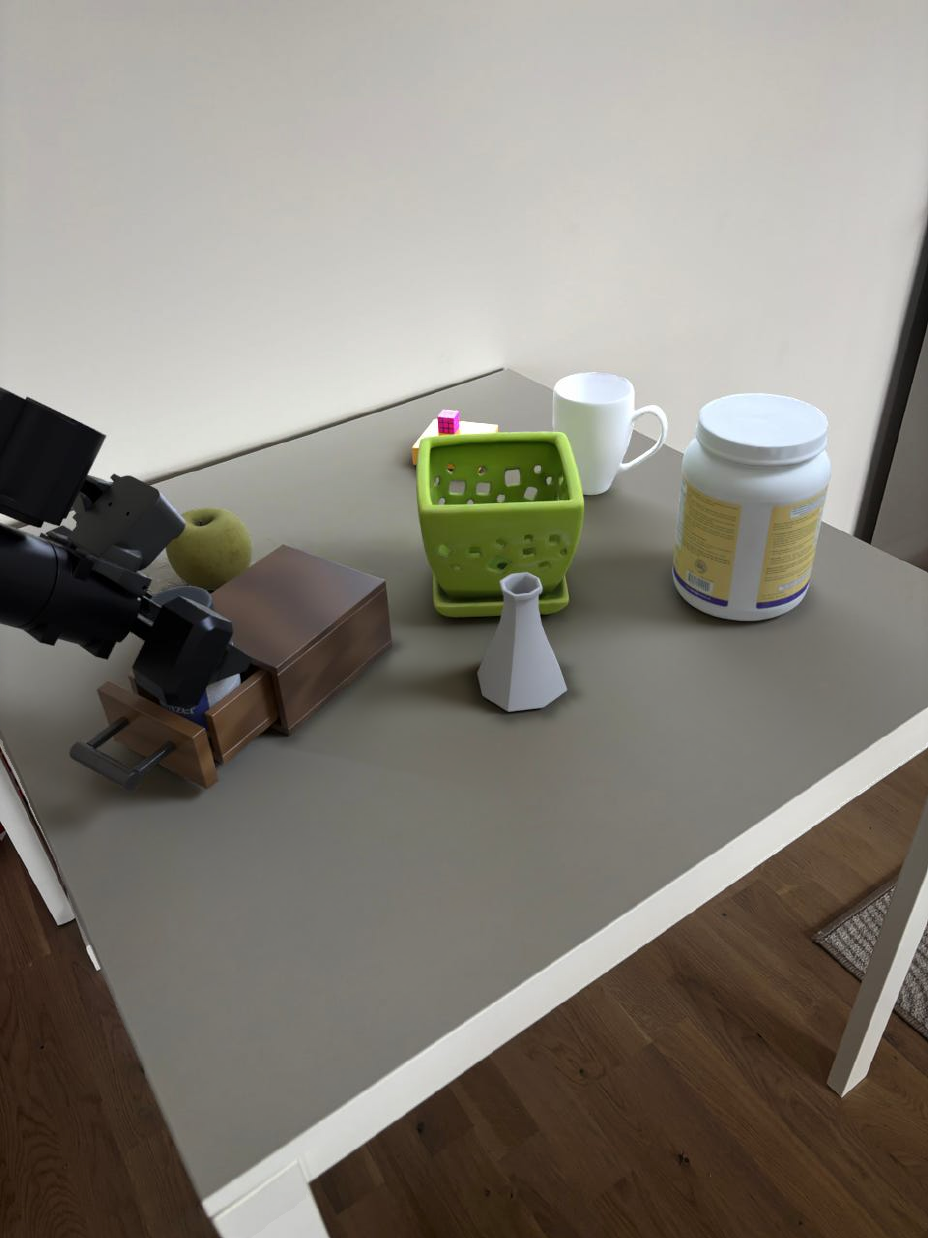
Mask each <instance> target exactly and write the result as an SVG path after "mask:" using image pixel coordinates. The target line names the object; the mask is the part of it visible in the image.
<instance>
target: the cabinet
mask: <svg viewBox="0 0 928 1238" xmlns="http://www.w3.org/2000/svg"><path fill="white" fill-rule="evenodd" d="M386 581H387V580H386V579H383V578H380V577H378V576H375V575H371V574H369V573H366V572H364V571H360V570H358V569H355V568H352V567H349V566H346V565H343V564H341V563H338V562H335V561H332V560H329V559H327V558H324V557H321V556H318V555H315V554H313V553H309V552H307V551H303V550H301V549H299V548H295V547H293V546H290V545H287V544H285V543H283V544H282V545H280V546H279V547H277V548H275V549H274V550H273V551H271V552H270V553H268V554H266V556H264V557H262V558H261V559H259V560H258V561H256V562H255V563H253V564H252V565H250V566H249V568H248V569H246V570H245V571H243V572H242V573H240V574H239V575H238V576H236V577H235V578H233V579H232V580H230V581H229V582H227V583H226V584H224V585H223V586H221V587H220V588H218V589H217V590H213V592H211V593H209V594H210V595H211V597H212V600H213V604H214V607H215V612H216V613H218V614H219V615H221V616H223V617H224V618H226V619H228V620H229V621H231V622H232V627H233V635H232V637H231V639H232V643H233V645H234V646H235V647H237V648H238V649H240V650H241V651H243V652H245V653H246V654H248V655H249V656H251V657H252V661H251V663H252V664H254V665H256V666H258V667H261V668H263V669H265V670H268V671H270V672H271V675H272V680H273V685H274V690H275V694H276V699H277V704H278V709H279V714H280V717H279V718H278V719H277V720H276V721H275V722H274V723H272V724H271V725H270V726H269V727H270V728H272V729H274V730H276V731H278V732H279V733H282V734H284V735H287V736H288V737H291V736H292V735H293V734H294V733H295V732H296V731H297V730H299V729H300V728H301V727H302V726H303V725H304V724H305V723H306V722H308V721H309V720H310V719H311V718H312V717H314V715H315V714H317V713H318V712H320V710H321V709H322V708H324V707H325V706H326V705H328V703H329V702H330V701H332V700H333V699H334V698H335V697H336V696H338V694H339V693H341V691H343V690H344V689H345V688H347V686H348V685H350V684H351V683H352V682H353V681H354V680H355V679H357V678H358V677H359V676H360V675H361V674H362V673H363V672H364V671H366V670H367V669H368V668H369V667H370V666H371V665H372V664H373V663H374V662H375V661H377V660H378V659H379V658H380V657H381V656H382V655H383V654H385V653H386V652H387V651H388V650H389V649H390V648H392V647H393V638H392V631H391V630H392V629H391V617H390V610H389V609H390V608H389V600H388V591H387V582H386ZM269 727H268V728H269Z"/></svg>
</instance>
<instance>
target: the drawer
mask: <svg viewBox="0 0 928 1238" xmlns="http://www.w3.org/2000/svg"><path fill="white" fill-rule="evenodd" d="M239 675H240V680H241V684H240V685H239V686H238V687H237V688H235V689H234V690H233V691H231V692H230V693H229V694H228V695H226V696H225V697H224V698H223V699H221V700H220V701H219V702H218V703H216V704H215V705H214V706H212V707H211V708H210V709H209V710H207V711H206V712H205V717H206V721H207V725H208V728H209V732H210V736H211V740H212V743H209V742H208V738H207V735H206V731H205V728H203V727H201V726H199V725H197V724H195V723H193V722H191V721H189V720H187V719H185V718H183V717H181V716H179V715H177V714H175V713H173V712H171V711H169V710H167V709H165V708H163V707H161V705H160V701H159V699H158V698H157V697H155V696H154V695H152V694H151V693H150V692H148V691H147V690H146V689H144V688H143V687H141V686H140V685H139V684H137V683H136V679H135V676H134V673H133V671H131V672H130V673H129V674H127V678H128V681H129V684H130V687H131V690H129V689H127V688H126V687H123V686H121V685H119V684H117V683H115V682H113V681H111V680H107V681H106V682H104V683H103V684H101V685H99V686H98V687H97V688H96V692H97V695H98V698H99V700H100V703H101V707H102V709H103V712H104V715H105V718H106V721H107V724H108V726H107V727H105V728H104V729H102V730H101V731H100V732H99V733H97V734H96V735H95V736H93V737H92V738H91V739H89V740H88V741H87V742H85V741H81V740H79V741H77V742H75V743H73V745H72V746H71V747H70V748H69V752H68V754H69V758H70V759H71V760H73V761H75V763H76V762H77V763H78V764H80V765H82V766H83V767H85V768H87V769H89V770H91V771H93V772H94V773H95V774H98V775H100V776H101V777H103V778H104V779H107V780H108V781H110V782H111V783H113V784H115V785H117V786H118V787H121V788H122V789H124V790H125V791H128V792H133V791H135V790H137V789H138V788H139V786H140V785H141V783H142V778H143V776H144V775H146V774H147V773H148V772H149V771H151V770H152V769H153V768H154V767H155V766H157V765H160V766H162V767H164V768H165V769H167V770H169V771H171V772H173V773H175V774H176V775H178V776H181V777H182V778H183V779H186V780H187V781H189V782H191V783H193V784H195V785H197V786H199V787H200V788H203V789H204V790H206V791H207V790H209V789H211V788H212V786H214V785H215V784H216V783H218V782H219V776H218V772H217V769H216V765H215V762H214V761H217V762H218V763H221V764H223V765H226V764H227V763H228V762H229V761H230V760H231V759H233V758H234V757H236V755H237V754H239V752H241V751H243V749H244V748H246V747H247V746H248V745H249V744H251V742H252V741H254V740H255V739H256V738H258V737H259V736H260V735H261V734H262V733H264V732H265V731H266V730H267V729H268V728H269V726H270V725H271V724H272V723H274V722H275V721H276V720H277V719H278V718H279V717H280V714H279V709H278V704H277V699H276V694H275V690H274V685H273V680H272V675H271V672H270V671H268V670H265V669H263V668H261V667H258V666H256V665H254V664H252V663H250V665H249V667H248V669H247V670H246V671H244V672H242V673H239ZM112 738H113V740H114V741H116V743H119V744H121V745H122V746H125V747H127V748H129V749H130V750H132V751H134V752H135V753H138V754H139V755H141V756H143V757H145V758H144V759H143V760H142V761H141V762H139V763H138V764H137V765H135V766H134V767H133V768H131V767H130V766H128V765H127V764H124V763H122V762H121V761H119V760H117V759H115V758H114V757H112V756H110V755H108V754H106V753H104V752H103V751H101V750H100V749H98V748H99V747H101V746H102V745H104V744H105V743H106V742H109V740H111V739H112Z"/></svg>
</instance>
